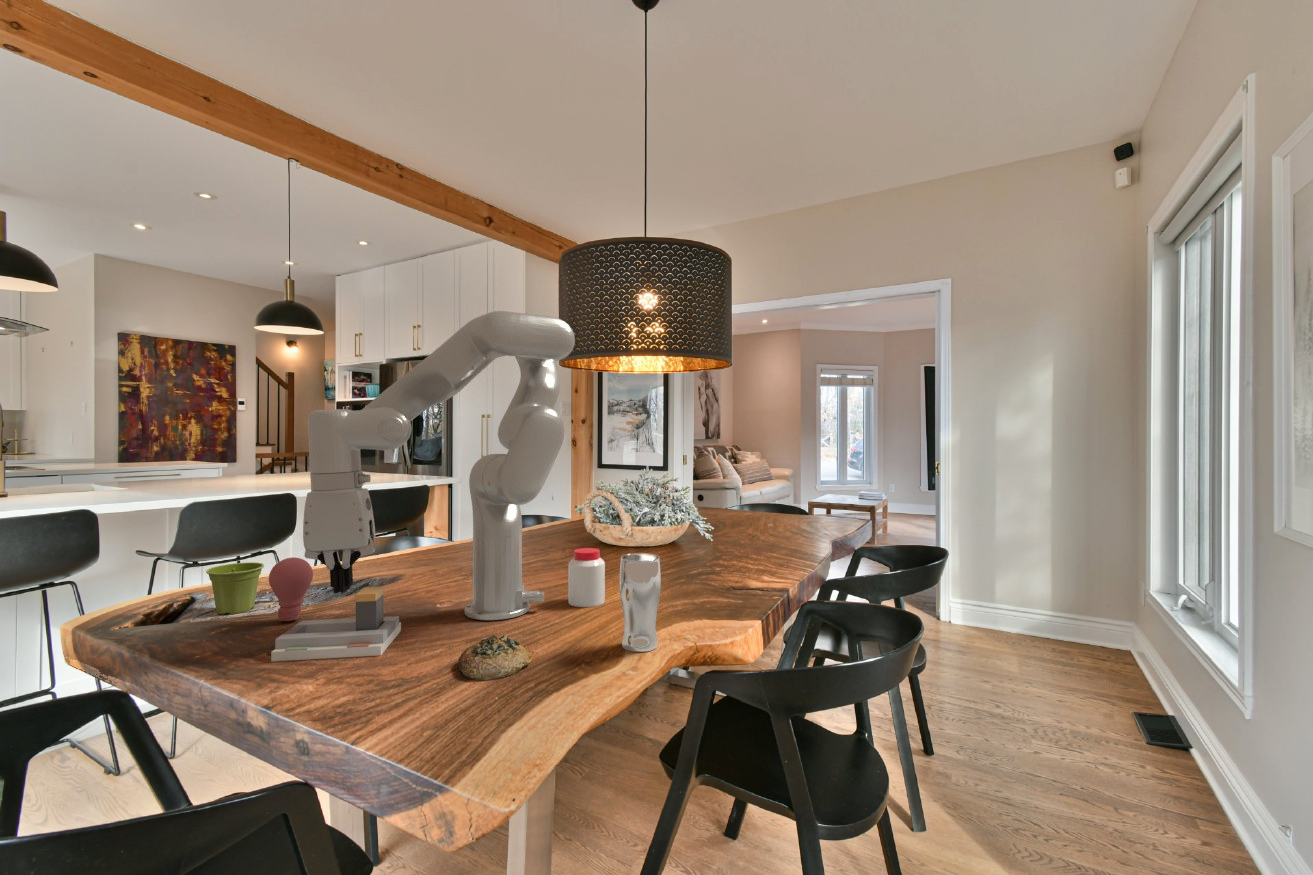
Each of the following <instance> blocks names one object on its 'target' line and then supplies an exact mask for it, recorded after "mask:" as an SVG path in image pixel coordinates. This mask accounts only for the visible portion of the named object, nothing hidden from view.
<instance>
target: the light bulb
mask: <svg viewBox="0 0 1313 875" xmlns="http://www.w3.org/2000/svg"><path fill="white" fill-rule="evenodd" d="M313 577H314V570H313V568H312V566H311V564H310V563H309V562H308V561H306V560H305V559H303V558H301V557H287V558H284V559H282V560H280V561H278V562H277V563H275V564H274V566H273V567H272V568H271V569H270V572H269V575H268V584H269V587H270V588H271V590H272V592H273V593H274V594H275V597H276V598H277V599H278V606H279V608H278V609H277V617H278V619H277V620H279V621H281V622H284V621H285V622H292V621H294V620H297V619H299V618H300V617H301V609H302V604H303V603H304V602H305V599H304V597H305V595H306V593H307V591H308V590H309V588H310V586H311V583H312V581H313Z"/></svg>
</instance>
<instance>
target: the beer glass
mask: <svg viewBox="0 0 1313 875" xmlns="http://www.w3.org/2000/svg"><path fill="white" fill-rule="evenodd" d="M660 562H661V559H660V555H658V554H654V553H648V552H647V553H646V552H634V553H627V554H626V553H625V554H622V555H621V556H620V564H619V565H620V567H619V581H618V582H619V595H620V597H619V598H620V603H621V607H622V608H621V609H622V613H623V614H622V615H623V621H624V622H623V623H624V624H623V625H624V629H623V630H624V631H623V637H622V642H621V647H622V648H623V650H626V651H627V652H632V653H645V652H646V653H648V652H651V651H654V650H656V649H657V648H658V647H659V643H658V635H657V630H656V624H657V623H656V621H657V614H658V608H659V602H660V597H661V588H662V587H661V585H662V584H661V583H662V580H661V578H662V577H661V563H660Z"/></svg>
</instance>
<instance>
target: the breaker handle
mask: <svg viewBox="0 0 1313 875" xmlns="http://www.w3.org/2000/svg"><path fill="white" fill-rule="evenodd" d="M384 594H385V586H364V587H363V588H361V589H360V590H358V592H357V593H355V594H354V602H355V618H356V631H360V630H378V628H379V627H380V626H381V625H382V624H383V617H384V606H385V605H384V602H385V600H384Z"/></svg>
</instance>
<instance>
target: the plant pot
mask: <svg viewBox="0 0 1313 875" xmlns="http://www.w3.org/2000/svg"><path fill="white" fill-rule="evenodd" d="M264 567H265V563H261V562H255V561H253V562H249V561H248V562H237V563H236V562H235V563H227V564H220V565H217V566H213V567H210V568H208V569H206V570H205V574H207V575H208V577H209V580H210V581H211V586H212V593H213V599H214V604H215V611H216V614H219V615H225V614H227V613H228V614H231V615H237V614H242V613H246V612H249V611H250V610H251V609H254V608H255V602H256V596H257V589H258V586H259V579H260V575H261V573H262V569H263V568H264Z"/></svg>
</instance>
